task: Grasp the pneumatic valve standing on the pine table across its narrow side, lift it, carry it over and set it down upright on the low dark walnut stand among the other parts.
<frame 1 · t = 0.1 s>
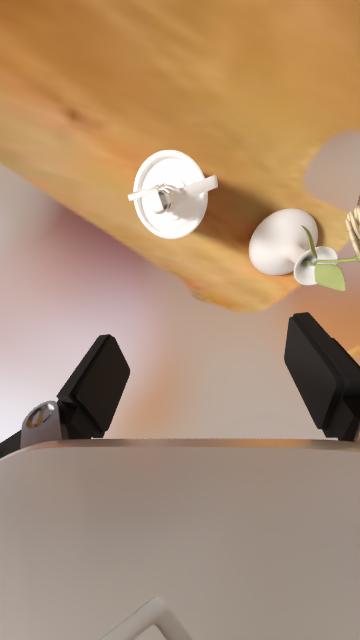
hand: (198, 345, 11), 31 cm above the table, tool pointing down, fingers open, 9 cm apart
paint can: (182, 195, 33), on the table
flower in vase: (277, 238, 36), on the table
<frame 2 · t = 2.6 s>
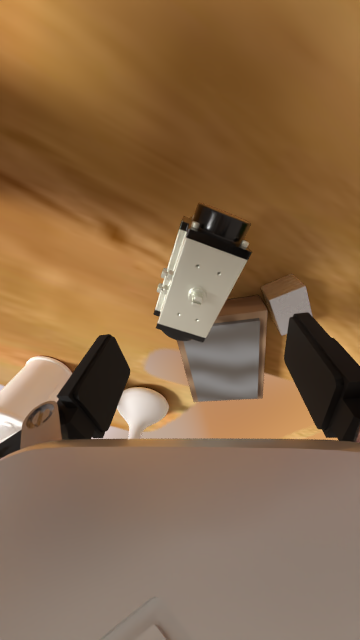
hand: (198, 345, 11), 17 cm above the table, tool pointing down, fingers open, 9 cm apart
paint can: (54, 370, 40), on the table
grey rectangular block: (280, 297, 27), on the table
stand: (220, 347, 33), on the table
flower in vase: (142, 395, 42), on the table
pneumatic valve: (193, 254, 24), on the table
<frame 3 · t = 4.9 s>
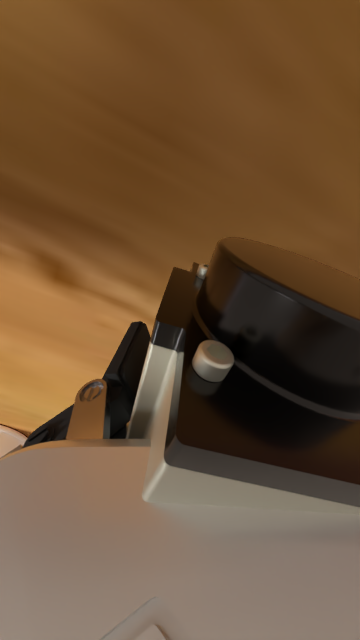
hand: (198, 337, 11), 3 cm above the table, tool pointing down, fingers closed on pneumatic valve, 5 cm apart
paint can: (7, 435, 29), on the table
pneumatic valve: (201, 308, 14), on the table, touching gripper
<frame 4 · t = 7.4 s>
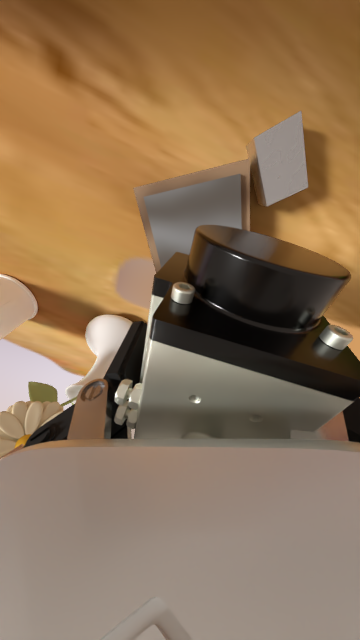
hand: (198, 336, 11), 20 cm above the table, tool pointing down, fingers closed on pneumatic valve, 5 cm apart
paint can: (16, 296, 35), on the table
grey rectangular block: (269, 167, 22), on the table
stand: (200, 253, 28), on the table
flower in vase: (116, 331, 37), on the table
pneumatic valve: (211, 296, 15), point 14 cm above the table, touching gripper
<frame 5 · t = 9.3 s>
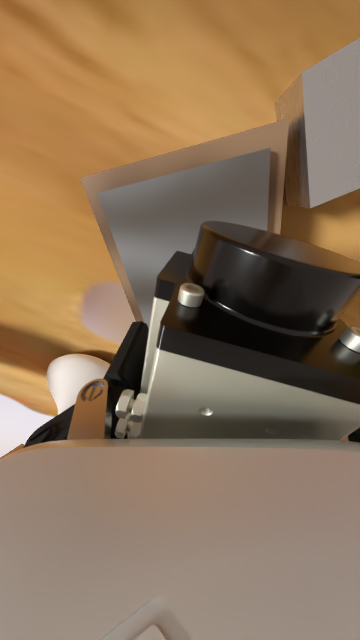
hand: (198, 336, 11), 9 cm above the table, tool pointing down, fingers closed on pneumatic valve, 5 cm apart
grey rectangular block: (311, 144, 13), on the table
stand: (198, 276, 19), on the table
flower in vase: (90, 370, 29), on the table
pneumatic valve: (210, 297, 15), point 5 cm above the table, touching gripper, stand
when the fingers open (9 cm above the table, at t = 10.2 s): pneumatic valve stays where it is, resting on stand.
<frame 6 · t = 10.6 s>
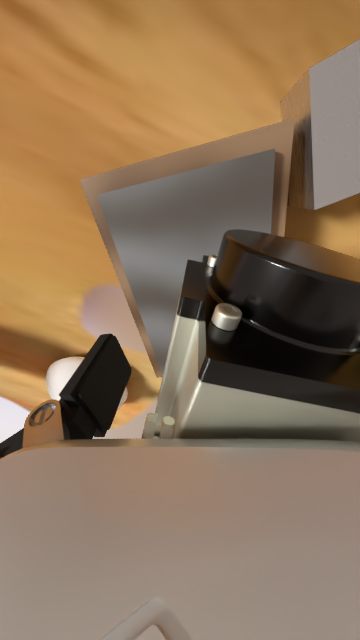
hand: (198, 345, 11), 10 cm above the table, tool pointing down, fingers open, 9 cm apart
grey rectangular block: (316, 144, 13), on the table
stand: (199, 278, 19), on the table
flower in vase: (90, 372, 28), on the table
pneumatic valve: (212, 299, 15), point 4 cm above the table, touching stand
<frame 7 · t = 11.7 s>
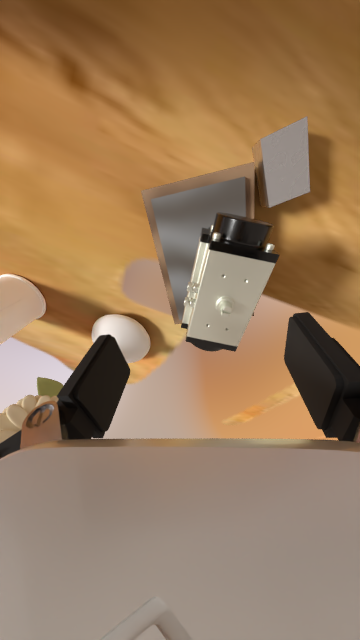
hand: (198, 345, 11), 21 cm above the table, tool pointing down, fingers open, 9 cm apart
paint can: (25, 295, 36), on the table
grey rectangular block: (274, 171, 22), on the table
stand: (205, 254, 28), on the table
flower in vase: (122, 330, 38), on the table
pneumatic valve: (213, 262, 24), point 4 cm above the table, touching stand
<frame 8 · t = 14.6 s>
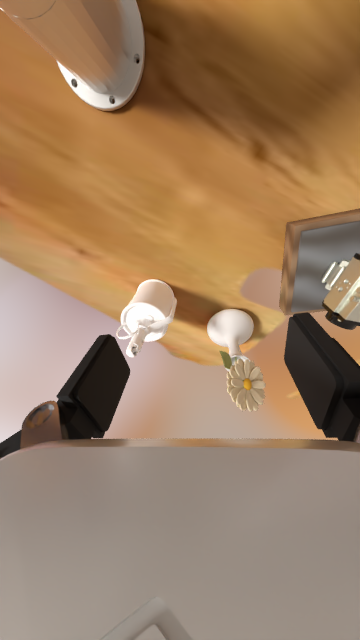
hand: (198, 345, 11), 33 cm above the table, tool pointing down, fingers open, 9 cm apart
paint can: (158, 295, 47), on the table
stand: (313, 264, 39), on the table
flower in vase: (227, 321, 49), on the table
pneumatic valve: (331, 271, 36), point 4 cm above the table, touching stand
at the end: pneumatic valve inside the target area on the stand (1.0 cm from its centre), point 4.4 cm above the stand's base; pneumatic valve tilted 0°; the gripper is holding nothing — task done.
